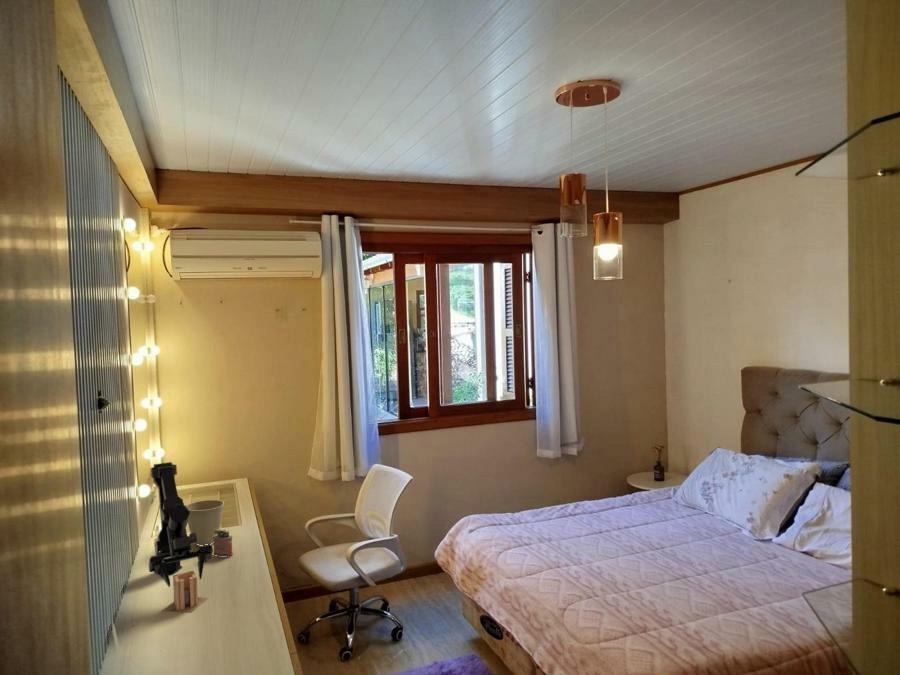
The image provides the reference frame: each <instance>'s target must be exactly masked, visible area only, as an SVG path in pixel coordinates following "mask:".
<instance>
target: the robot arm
mask: <svg viewBox="0 0 900 675" xmlns="http://www.w3.org/2000/svg"><path fill="white" fill-rule="evenodd" d="M177 467H178V466H177V464H173V462H172V461H169V462H162V463H155V464H154V463H153V467H150V469H149V470H150V471H149V472H150V478H152V482H153V484H154V485H155V486H156V487H157V488H158V489H157V490H158V500H159V514H160V525H161V526H160V527H161V529H160V531H159V532H158V535H157V540H156V541H155V547H154V552H155V553H154V554H155V555H151V556H150V557H149V560H148V570H149V571H148V572H150V573H153V572H154V574H156V573H158V575H159V577H161V579H162V580H163V581H164V582H165V584H166V585H167V587H168V588H170V587H171V580H170V577H169V575H174V574H175V573H176V572H178V571H179V570H181V569H182V568H183V565H181V561H184V560H185V561H187V560H189V559H194V558H197V560H198V561H197V571H198V578H199V580H202V579H203V578H202V577H203V572H204V571H203V570H204V565H205V563H207V562H208V561H209V560H210V559H212V556H213V553H214V547H213V545H210V544H208V545H203V546H198V549H197V550H196V551H191V550H192V544H195V543H196V542H197V536H196V532H195V533H191V532H190V533H189V535H188V533H187V532H188V531H187V526H188V518H189V514H190V511H189V509H188V508H187V507H186V505H187V504H185V503H184V499H183V498H181V497H180V496H179V494H178V488H177V484H176V479H175V477H176V476H177V475H178V468H177ZM181 567H182V568H181ZM180 568H181V569H180ZM178 569H179V570H178ZM177 570H178V571H177ZM175 571H176V572H175ZM174 572H175V573H174Z"/></svg>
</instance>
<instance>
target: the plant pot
mask: <svg viewBox="0 0 900 675" xmlns="http://www.w3.org/2000/svg"><path fill="white" fill-rule="evenodd" d="M185 505H186V507H187V508H188V509H189V511H190V514H189V518H188V523H187V526H188V529H189V531H190V533H195V532H196V536H197V542H196V544H199V545H205V544H211V543H213V542H214V540H213V536H214V535H218V534H217V533H215V530H216V529H218V530H221V529H220V528H221V525H222V520H223V515H224V507H225V501H223V500H219V499H205V500H199V501H194V502H190V503H188V504H185ZM196 544H195V545H196Z"/></svg>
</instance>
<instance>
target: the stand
mask: <svg viewBox="0 0 900 675" xmlns="http://www.w3.org/2000/svg"><path fill="white" fill-rule="evenodd" d="M209 599H210V597H203V596H201V597H200V596H199V597H198V605H197V606H193V607H191V606H190V589H184V603H185V609H181V610H178V611H177V608H176V606H175V604H174V601H173V602H171V603H170V604H168V605H167V606H166V607H164V609H162V610H161V612H171V613H173V612H174V613H188V614H191V613H193V612H194V611H195V610H197V609H198V608H199V607H200V606H202V604H204V603H205V602H206V601H207V600H209Z"/></svg>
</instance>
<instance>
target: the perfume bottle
mask: <svg viewBox="0 0 900 675" xmlns="http://www.w3.org/2000/svg"><path fill="white" fill-rule="evenodd" d="M215 533H217V534H218V535H214V536H213V540H214V544H213V553H212V555H213V554H214V555H217V556H227V557H226V558H229V557H228V556H232V555H233V556H234V554H233V536H232V535H230V530H226V529H219V530H218V529H216V530H215ZM233 556H232V557H233Z"/></svg>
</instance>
